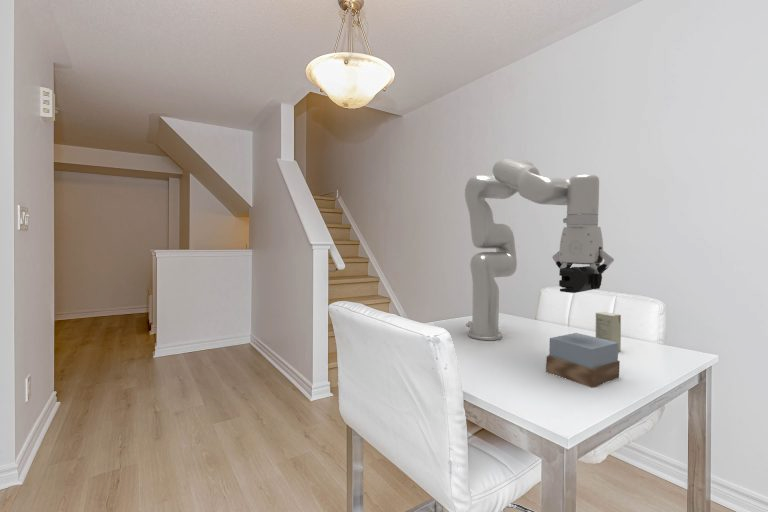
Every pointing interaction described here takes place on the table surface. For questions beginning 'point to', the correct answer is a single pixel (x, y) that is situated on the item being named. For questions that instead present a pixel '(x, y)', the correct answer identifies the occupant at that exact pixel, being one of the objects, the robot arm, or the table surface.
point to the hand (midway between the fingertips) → (580, 286)
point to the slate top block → (584, 350)
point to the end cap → (576, 279)
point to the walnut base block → (582, 372)
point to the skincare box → (609, 327)
